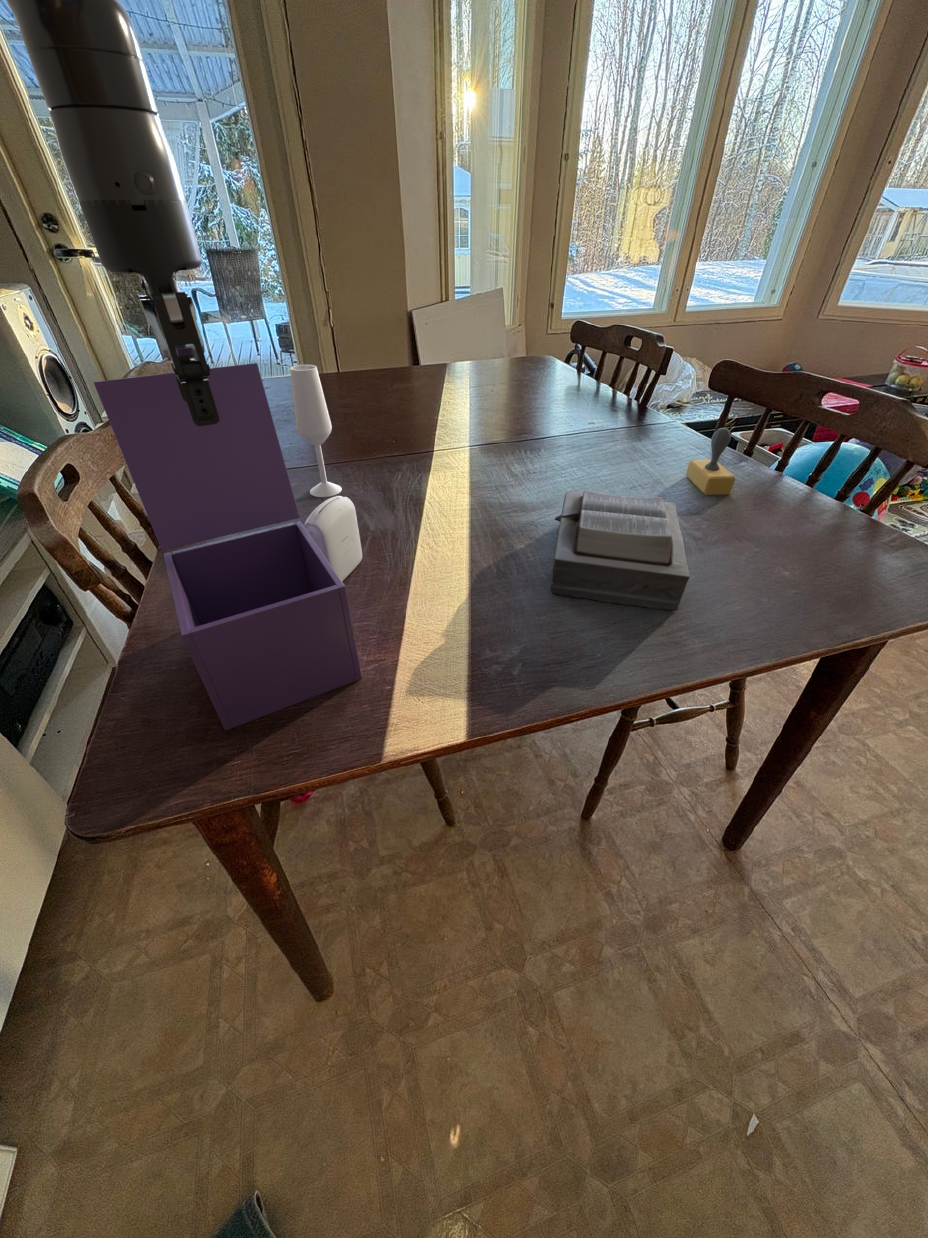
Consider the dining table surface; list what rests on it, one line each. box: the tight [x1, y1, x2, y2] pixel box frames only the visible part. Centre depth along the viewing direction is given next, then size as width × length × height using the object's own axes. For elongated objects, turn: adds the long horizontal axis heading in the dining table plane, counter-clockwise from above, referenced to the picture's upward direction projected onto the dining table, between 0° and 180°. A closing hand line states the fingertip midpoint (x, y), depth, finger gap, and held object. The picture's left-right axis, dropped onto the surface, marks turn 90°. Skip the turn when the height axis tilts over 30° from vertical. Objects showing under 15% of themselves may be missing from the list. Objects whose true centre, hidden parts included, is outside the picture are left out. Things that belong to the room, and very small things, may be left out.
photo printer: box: [303, 495, 363, 582], centre depth 80 cm, size 10×4×12 cm, turn 160°
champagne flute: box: [289, 364, 343, 498], centre depth 101 cm, size 7×7×24 cm
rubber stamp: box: [685, 427, 736, 496], centre depth 106 cm, size 10×6×12 cm, turn 4°
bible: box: [549, 489, 691, 611], centre depth 83 cm, size 23×27×10 cm
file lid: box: [93, 362, 301, 551], centre depth 60 cm, size 18×17×1 cm
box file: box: [163, 520, 363, 731], centre depth 63 cm, size 18×17×14 cm
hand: (201, 411), depth 50 cm, fingers open, 8 cm apart
